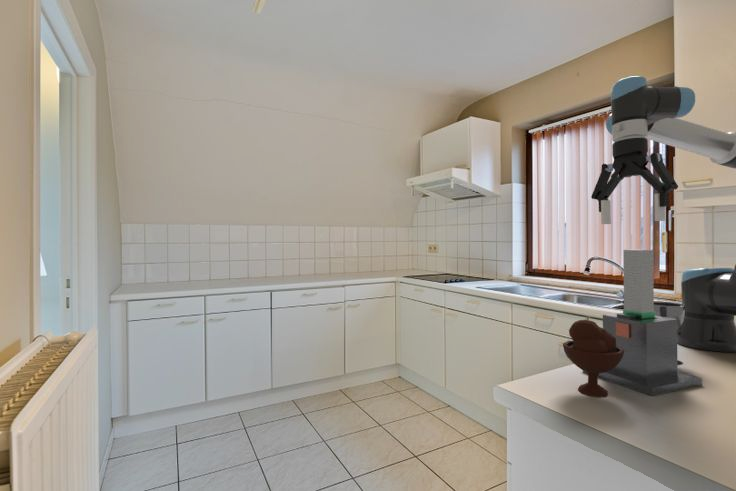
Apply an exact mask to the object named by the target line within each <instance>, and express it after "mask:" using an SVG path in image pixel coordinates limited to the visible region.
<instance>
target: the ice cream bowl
mask: <svg viewBox="0 0 736 491" xmlns="http://www.w3.org/2000/svg"><path fill="white" fill-rule="evenodd" d="M568 334H569V335H568V336H569V337H570V338H571V340H567V341H565V342H563V343H562V347H563V351H564V353H565V355H566V357H567V359H569V361H571V363H572V364H574V365H575V366H576V367H578V368H579V369H580V370H581V371H583V370H584V371H586V372H587V373H586V372H585V373H586V374H587V382H585V383H583V384H580V385H579V386H578V388H577V390H578V391H579V392H580V393H581V394H584V395H586V396H589V397H596V398H603V397H607V396H608V395H609V392H608V390H607V389H606V388H604V387H603V386H601V385H600V384H599V382H598V381H599V380H598V378H599V377H598V375H599V373H605V372H608V371H610V370H612V369H613V368H614V367H616V366H617V365H618V364H619V363H620V361H621V359H622V358H623V354H624V349H622V348H620V347H618V346H616V338H615V337H614V336H613V335H612V334H611V333H609V332H608V331H607V330H605V329H603V327H601V326H599V325H598V324H597V323H596V322H594V321H593V320H588V319H580V320H577V321H574V322H573V323H572V324H571V326H570V327H569V329H568Z"/></svg>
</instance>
